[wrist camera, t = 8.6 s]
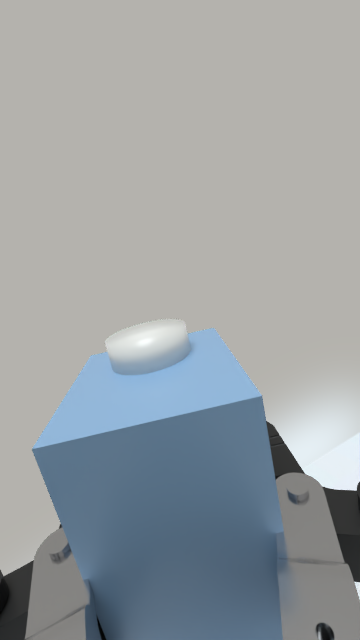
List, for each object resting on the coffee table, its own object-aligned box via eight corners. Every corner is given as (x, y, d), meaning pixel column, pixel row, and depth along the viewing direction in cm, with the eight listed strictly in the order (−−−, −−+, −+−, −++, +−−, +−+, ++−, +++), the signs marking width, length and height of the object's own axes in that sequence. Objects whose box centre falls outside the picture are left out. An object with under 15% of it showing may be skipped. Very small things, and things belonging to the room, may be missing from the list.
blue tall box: (163, 786, 8) (16, 411, 5) (161, 586, 13) (84, 334, 10) (318, 746, 8) (255, 357, 5) (259, 562, 13) (209, 305, 10)
